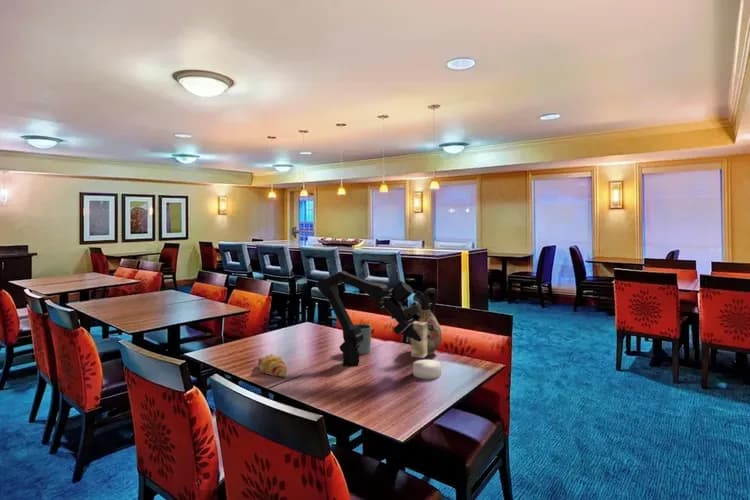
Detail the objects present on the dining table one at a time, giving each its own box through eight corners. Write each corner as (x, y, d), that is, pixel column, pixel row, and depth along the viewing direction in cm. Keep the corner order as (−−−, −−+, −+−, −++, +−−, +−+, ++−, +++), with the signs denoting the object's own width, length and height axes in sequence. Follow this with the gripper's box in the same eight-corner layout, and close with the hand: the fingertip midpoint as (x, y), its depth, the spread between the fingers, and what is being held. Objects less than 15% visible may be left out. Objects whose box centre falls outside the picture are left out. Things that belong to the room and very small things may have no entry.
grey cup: (371, 354, 196) (370, 328, 195) (349, 355, 196) (348, 329, 195) (371, 348, 206) (371, 323, 205) (350, 348, 206) (350, 323, 205)
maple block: (411, 356, 169) (411, 323, 169) (415, 353, 174) (415, 321, 173) (423, 358, 167) (423, 324, 167) (427, 354, 172) (427, 322, 171)
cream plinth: (415, 379, 164) (415, 369, 164) (411, 369, 175) (411, 360, 175) (444, 378, 165) (444, 368, 164) (438, 368, 176) (437, 359, 175)
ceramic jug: (418, 360, 187) (417, 291, 186) (402, 350, 202) (401, 287, 200) (451, 354, 194) (451, 288, 192) (433, 346, 208) (433, 284, 207)
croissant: (291, 385, 169) (299, 365, 171) (271, 379, 163) (279, 358, 165) (265, 370, 185) (273, 353, 187) (245, 364, 179) (254, 346, 181)
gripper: (401, 300, 162) (429, 331, 158) (416, 292, 179) (442, 321, 175) (382, 319, 166) (409, 350, 162) (399, 310, 183) (424, 338, 179)
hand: (422, 339), depth 170 cm, fingers closed on maple block, 5 cm apart
